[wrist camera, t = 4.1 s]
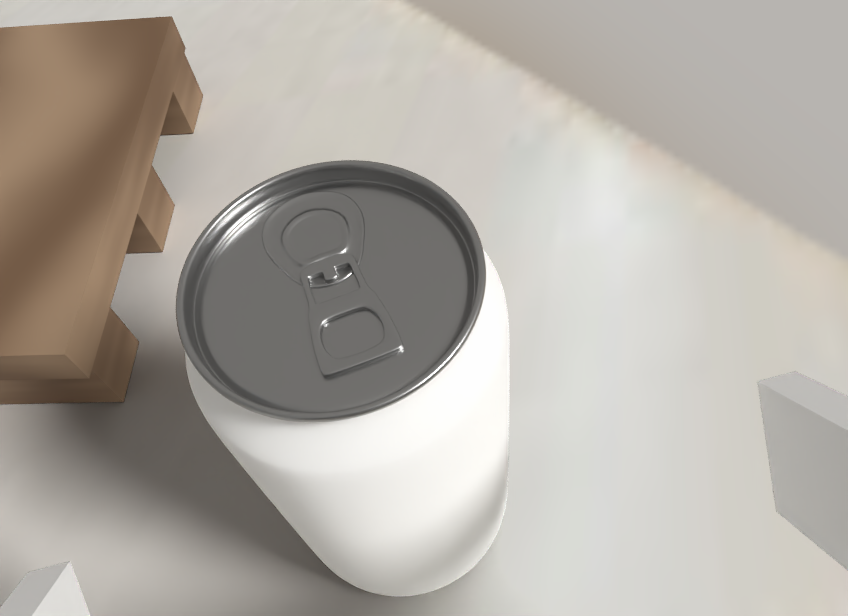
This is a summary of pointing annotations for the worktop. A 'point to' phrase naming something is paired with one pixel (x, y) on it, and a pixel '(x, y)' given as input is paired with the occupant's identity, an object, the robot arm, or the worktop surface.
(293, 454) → the can
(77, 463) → the worktop surface
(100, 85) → the platform
